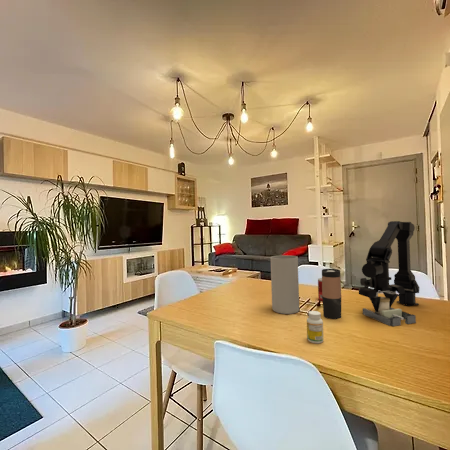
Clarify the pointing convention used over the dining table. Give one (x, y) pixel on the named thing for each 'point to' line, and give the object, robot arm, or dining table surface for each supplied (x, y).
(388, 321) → the grey u-shaped frame
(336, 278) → the travel mug
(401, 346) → the dining table surface
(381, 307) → the jar
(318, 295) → the canned food
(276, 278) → the cylinder vase
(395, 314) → the pusher
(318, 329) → the supplement bottle
